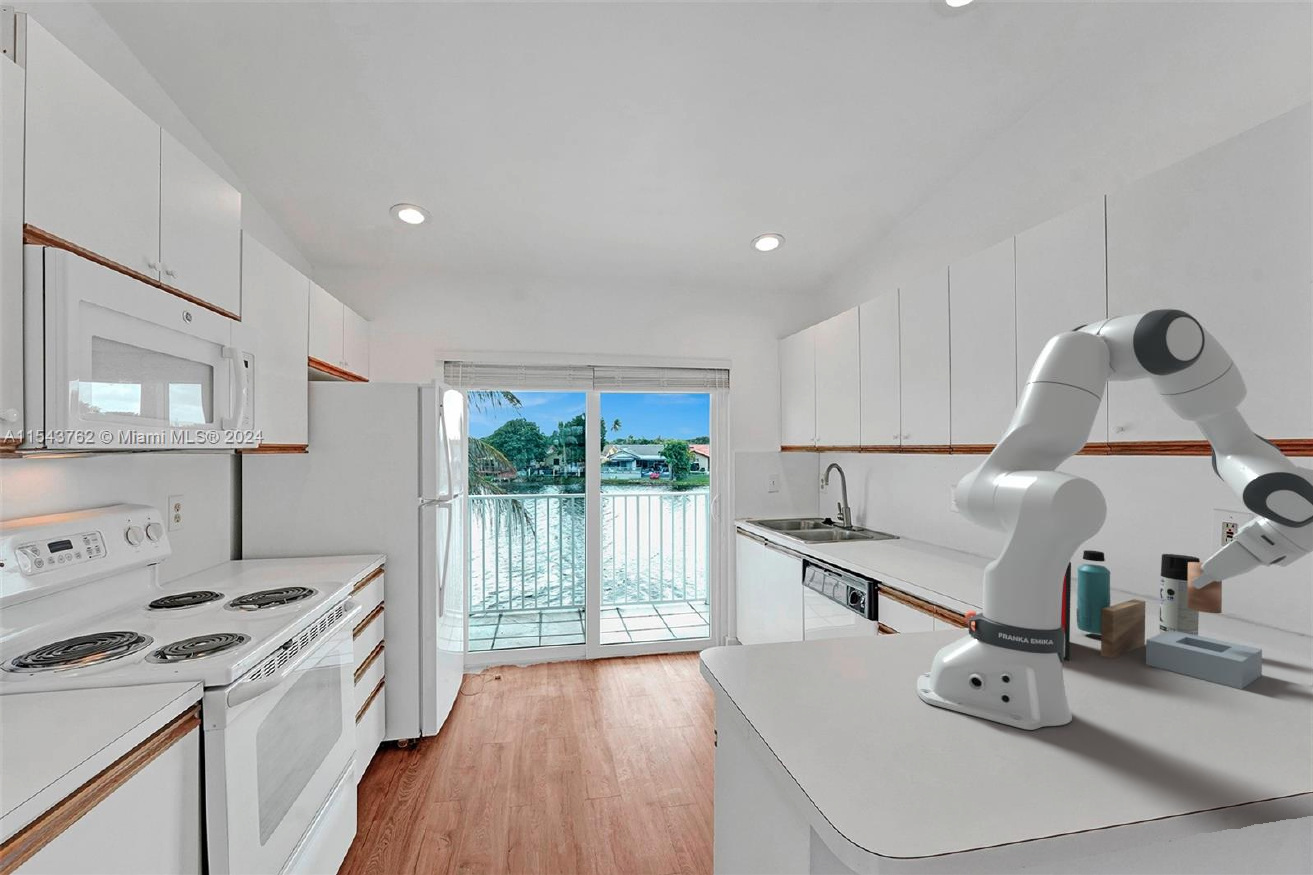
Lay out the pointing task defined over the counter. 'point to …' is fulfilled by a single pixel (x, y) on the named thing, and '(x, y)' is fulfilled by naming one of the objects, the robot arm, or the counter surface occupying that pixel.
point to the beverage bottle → (1092, 593)
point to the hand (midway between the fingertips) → (1200, 584)
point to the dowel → (1203, 592)
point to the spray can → (1176, 595)
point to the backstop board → (1122, 628)
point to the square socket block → (1205, 658)
